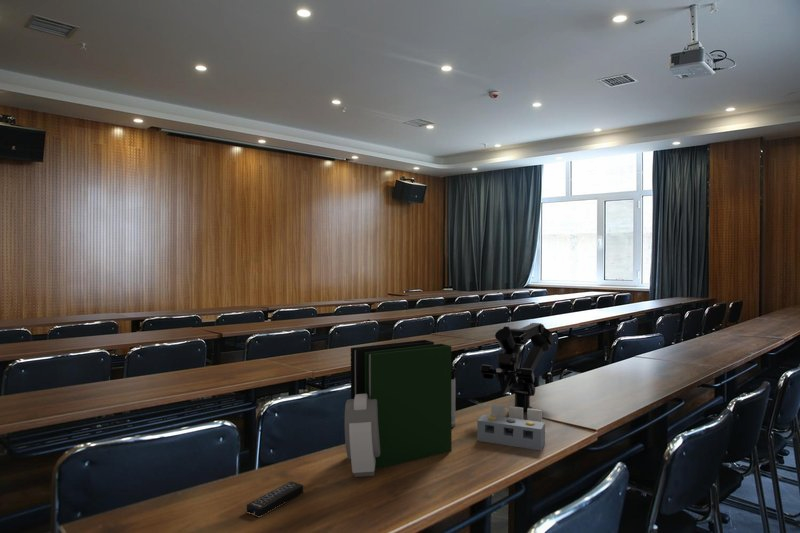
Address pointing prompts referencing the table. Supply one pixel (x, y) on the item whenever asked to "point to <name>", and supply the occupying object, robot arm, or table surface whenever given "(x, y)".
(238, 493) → the table surface
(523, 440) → the console
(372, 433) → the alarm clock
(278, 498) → the multiport hub
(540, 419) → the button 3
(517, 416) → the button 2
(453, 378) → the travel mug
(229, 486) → the table surface
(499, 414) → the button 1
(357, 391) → the binder
